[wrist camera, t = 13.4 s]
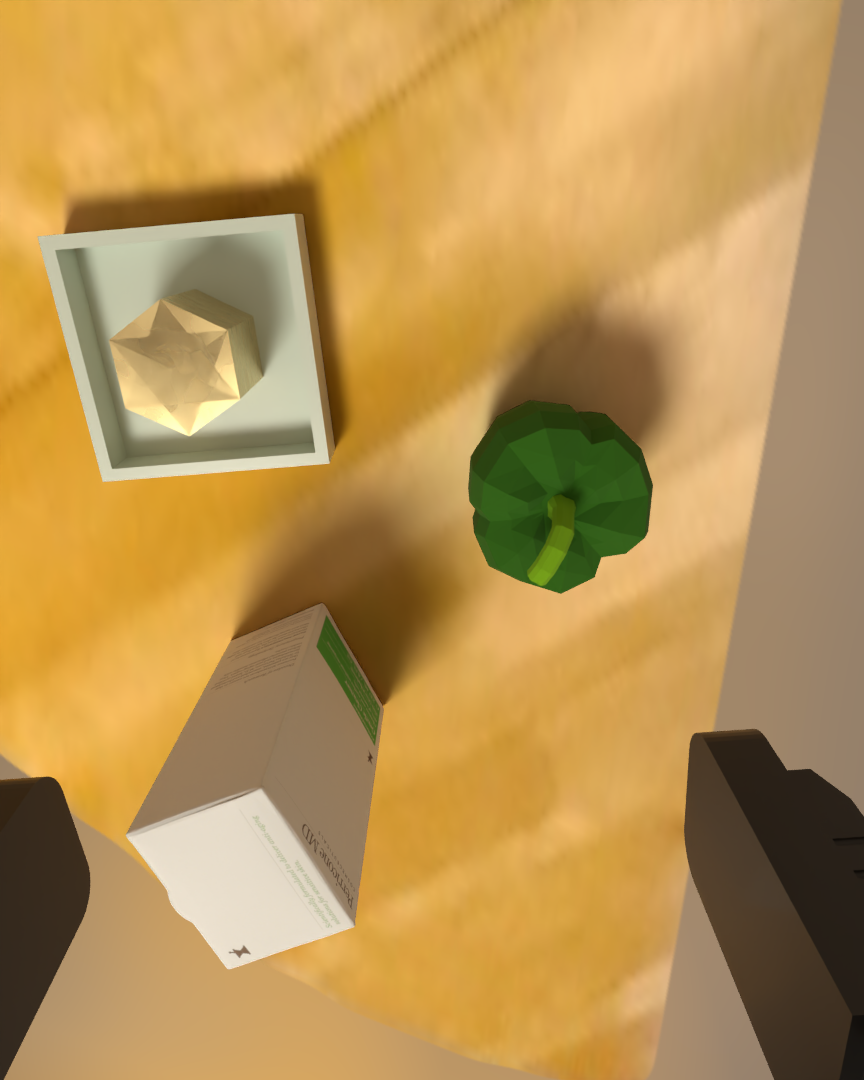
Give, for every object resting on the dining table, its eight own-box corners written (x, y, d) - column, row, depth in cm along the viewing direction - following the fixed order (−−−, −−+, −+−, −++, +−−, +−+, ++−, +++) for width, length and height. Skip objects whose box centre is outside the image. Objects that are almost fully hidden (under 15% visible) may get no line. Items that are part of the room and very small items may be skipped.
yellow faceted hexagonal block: (142, 293, 35) (100, 304, 31) (247, 284, 35) (220, 293, 31) (169, 413, 38) (133, 440, 33) (268, 405, 37) (246, 431, 33)
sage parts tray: (63, 235, 35) (37, 236, 32) (303, 214, 34) (294, 213, 32) (121, 466, 39) (102, 481, 37) (335, 449, 39) (329, 463, 36)
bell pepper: (553, 344, 37) (596, 384, 28) (648, 465, 39) (715, 540, 30) (424, 451, 39) (423, 522, 30) (521, 560, 41) (548, 657, 32)
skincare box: (386, 707, 45) (367, 934, 31) (289, 744, 46) (227, 980, 32) (321, 594, 42) (267, 787, 28) (219, 637, 43) (116, 844, 29)
